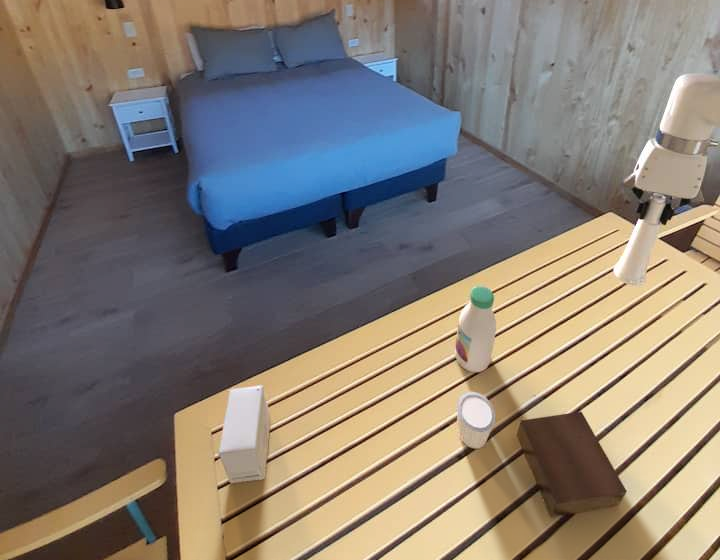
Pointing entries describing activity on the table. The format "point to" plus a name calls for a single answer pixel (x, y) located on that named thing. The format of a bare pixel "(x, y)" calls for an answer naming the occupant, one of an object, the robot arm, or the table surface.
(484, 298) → the milk bottle
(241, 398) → the cosmetics box
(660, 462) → the table surface
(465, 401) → the white yogurt cup
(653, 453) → the table surface
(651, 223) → the cosmetic bottle
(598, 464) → the block
